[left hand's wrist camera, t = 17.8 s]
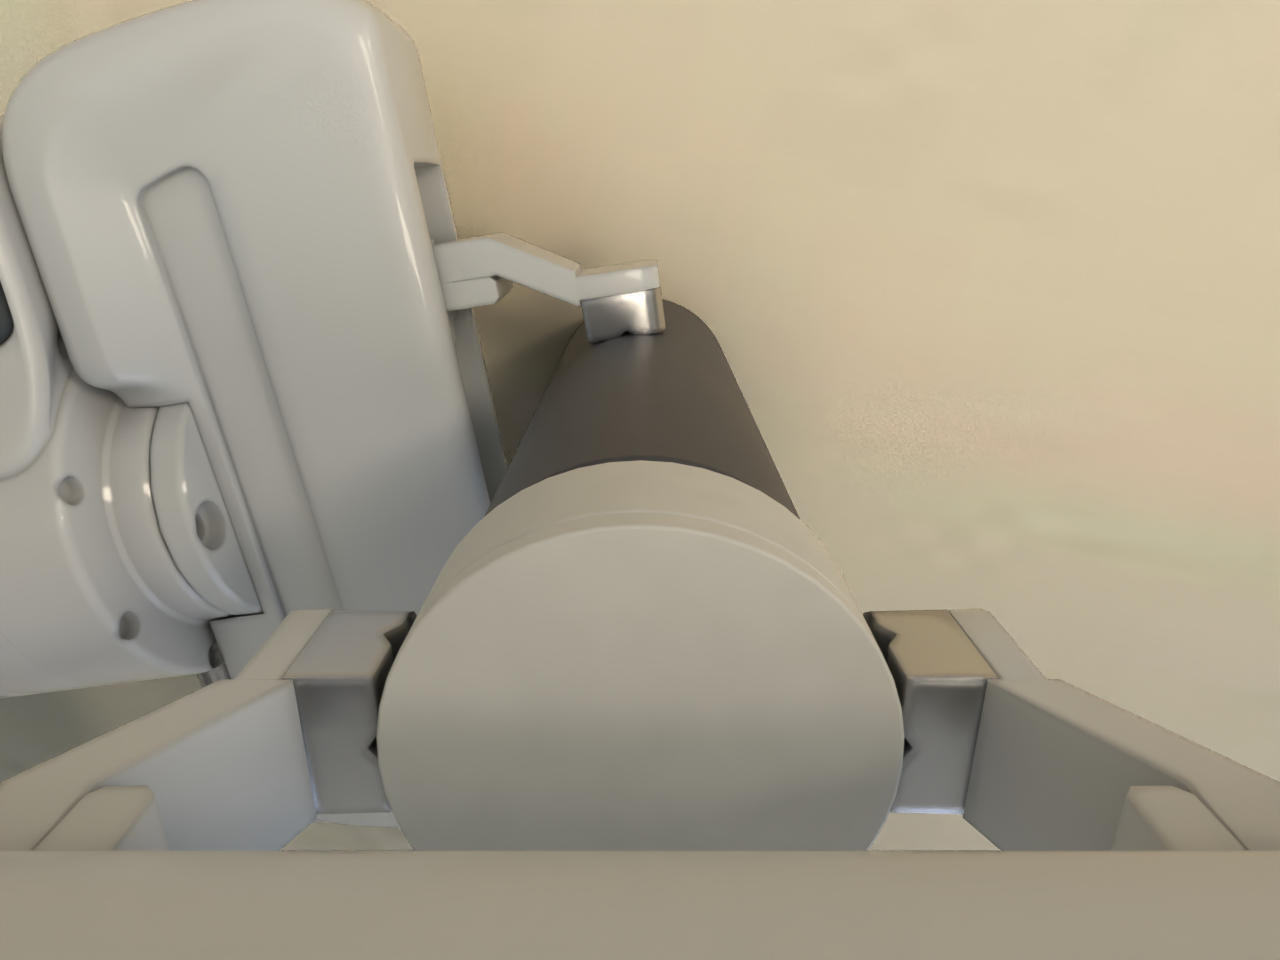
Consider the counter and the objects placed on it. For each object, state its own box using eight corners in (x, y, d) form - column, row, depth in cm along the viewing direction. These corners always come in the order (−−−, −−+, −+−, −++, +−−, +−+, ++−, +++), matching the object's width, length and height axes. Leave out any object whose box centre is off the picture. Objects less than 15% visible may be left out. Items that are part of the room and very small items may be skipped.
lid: (606, 892, 11) (598, 1022, 10) (331, 628, 10) (263, 724, 8) (940, 698, 10) (1002, 805, 8) (686, 363, 9) (697, 410, 7)
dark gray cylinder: (591, 271, 23) (487, 440, 8) (752, 332, 24) (946, 597, 8) (538, 429, 25) (370, 816, 10) (690, 482, 25) (758, 925, 10)
